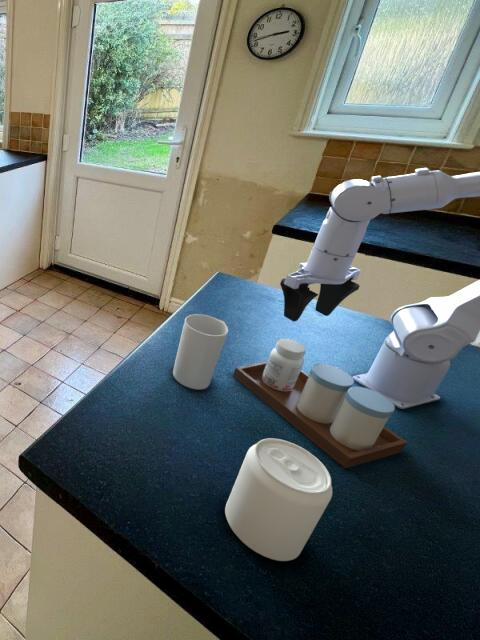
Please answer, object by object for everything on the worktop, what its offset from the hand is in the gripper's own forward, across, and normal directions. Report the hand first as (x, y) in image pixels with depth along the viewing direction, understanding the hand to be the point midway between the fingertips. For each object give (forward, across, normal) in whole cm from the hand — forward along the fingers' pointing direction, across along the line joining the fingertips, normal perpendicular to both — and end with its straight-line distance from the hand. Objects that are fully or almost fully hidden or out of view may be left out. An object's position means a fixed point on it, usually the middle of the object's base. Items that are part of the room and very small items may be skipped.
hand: (306, 315), depth 77 cm
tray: (+10, +9, +11) cm, 18 cm away
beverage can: (+11, +34, +25) cm, 43 cm away
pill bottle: (+10, +9, +5) cm, 14 cm away
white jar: (+10, +9, +12) cm, 18 cm away
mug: (+11, +21, -1) cm, 23 cm away
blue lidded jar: (+10, +9, +18) cm, 22 cm away
